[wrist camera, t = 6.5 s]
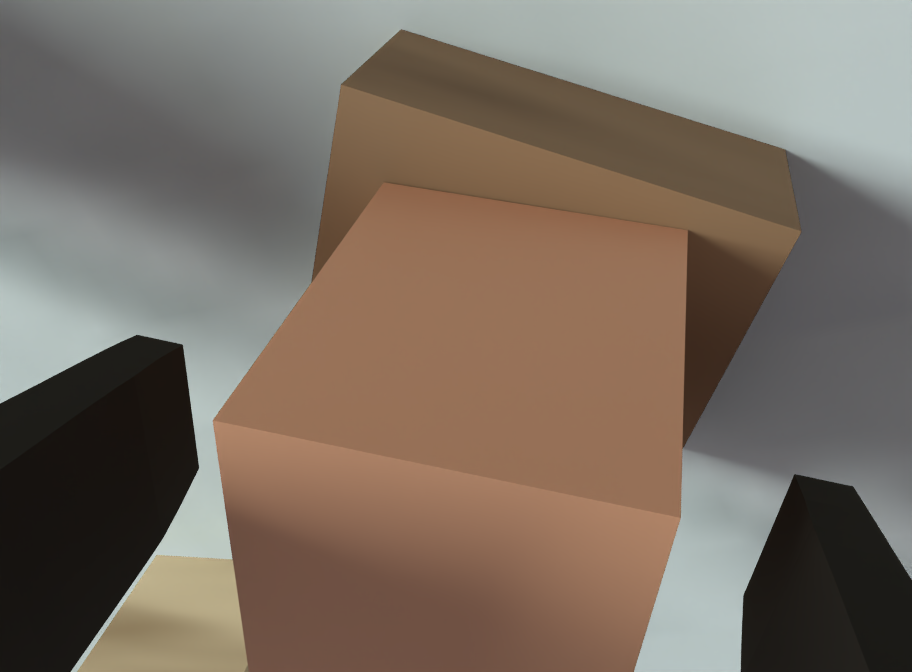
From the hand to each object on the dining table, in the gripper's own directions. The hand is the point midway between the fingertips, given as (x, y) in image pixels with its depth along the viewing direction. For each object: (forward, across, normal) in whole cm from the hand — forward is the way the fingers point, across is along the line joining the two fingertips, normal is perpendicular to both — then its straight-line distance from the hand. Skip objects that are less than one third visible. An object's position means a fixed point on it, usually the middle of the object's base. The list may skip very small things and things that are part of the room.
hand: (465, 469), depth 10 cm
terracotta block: (+3, 0, 0) cm, 3 cm away
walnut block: (+6, 0, 0) cm, 6 cm away
